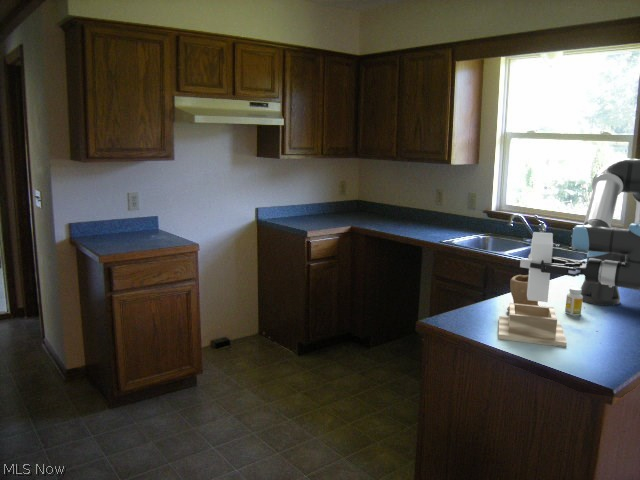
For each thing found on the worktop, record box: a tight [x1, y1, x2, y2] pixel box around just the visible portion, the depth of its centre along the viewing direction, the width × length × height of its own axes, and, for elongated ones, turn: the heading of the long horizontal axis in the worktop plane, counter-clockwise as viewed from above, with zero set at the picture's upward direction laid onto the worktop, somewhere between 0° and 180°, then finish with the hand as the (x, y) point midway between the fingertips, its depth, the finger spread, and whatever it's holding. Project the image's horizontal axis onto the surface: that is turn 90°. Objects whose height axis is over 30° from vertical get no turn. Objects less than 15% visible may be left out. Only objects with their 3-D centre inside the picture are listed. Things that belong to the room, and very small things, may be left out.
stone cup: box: [506, 274, 540, 313], centre depth 196 cm, size 15×12×15 cm
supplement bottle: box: [564, 286, 583, 317], centre depth 200 cm, size 5×5×10 cm
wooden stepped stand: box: [497, 302, 567, 348], centre depth 179 cm, size 20×20×8 cm
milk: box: [527, 231, 554, 303], centre depth 175 cm, size 6×6×22 cm
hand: (524, 260), depth 178 cm, fingers closed on milk, 7 cm apart
